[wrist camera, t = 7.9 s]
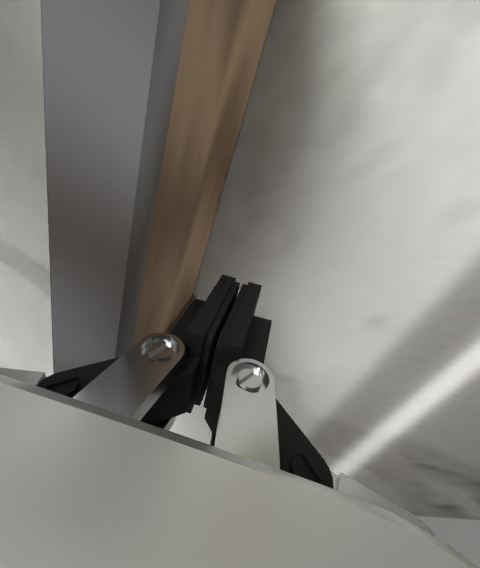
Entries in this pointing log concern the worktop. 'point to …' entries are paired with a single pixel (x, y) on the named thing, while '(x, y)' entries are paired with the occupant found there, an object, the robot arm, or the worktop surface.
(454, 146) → the worktop surface
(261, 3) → the gate
